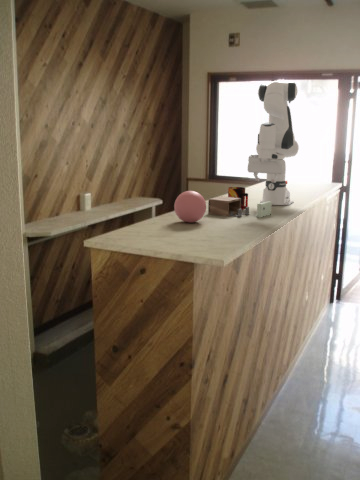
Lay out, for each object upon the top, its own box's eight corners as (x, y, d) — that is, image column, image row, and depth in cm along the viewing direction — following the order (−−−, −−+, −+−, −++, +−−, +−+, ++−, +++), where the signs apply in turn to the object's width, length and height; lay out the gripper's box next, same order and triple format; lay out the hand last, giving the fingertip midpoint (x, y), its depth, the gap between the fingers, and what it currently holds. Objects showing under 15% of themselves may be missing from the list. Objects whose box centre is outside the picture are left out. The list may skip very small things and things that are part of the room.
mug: (246, 211, 272) (247, 189, 269) (224, 209, 279) (225, 188, 276) (254, 209, 280) (254, 188, 277) (232, 206, 287) (232, 186, 284)
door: (266, 214, 264) (267, 201, 263) (272, 214, 263) (272, 201, 261) (256, 217, 255) (257, 203, 253) (262, 217, 253) (262, 204, 252)
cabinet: (221, 210, 274) (222, 196, 272) (250, 213, 264) (251, 199, 262) (208, 213, 263) (208, 199, 261) (237, 217, 252) (238, 202, 251)
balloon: (215, 220, 245) (216, 189, 241) (196, 226, 228) (196, 193, 225) (188, 217, 252) (189, 187, 249) (168, 223, 236) (168, 191, 232)
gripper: (245, 154, 255) (244, 181, 258) (282, 155, 244) (281, 183, 247) (251, 154, 260) (250, 180, 263) (287, 155, 249) (286, 182, 252)
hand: (265, 182), depth 255 cm, fingers open, 8 cm apart
